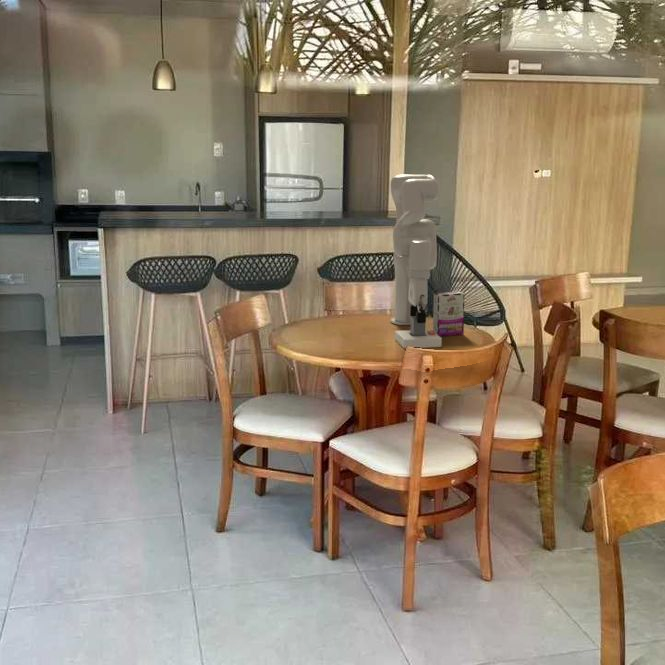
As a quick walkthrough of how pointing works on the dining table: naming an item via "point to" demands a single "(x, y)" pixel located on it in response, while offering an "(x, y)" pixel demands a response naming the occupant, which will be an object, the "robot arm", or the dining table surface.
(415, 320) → the plug
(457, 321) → the candy bar box
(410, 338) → the socket plate
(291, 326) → the dining table surface
